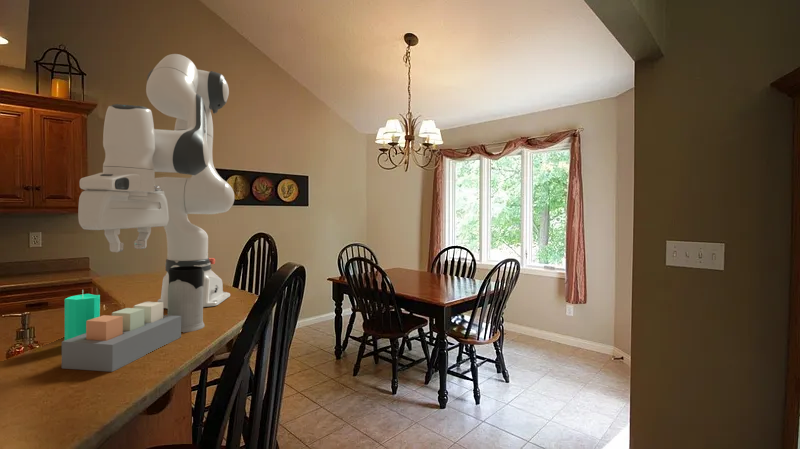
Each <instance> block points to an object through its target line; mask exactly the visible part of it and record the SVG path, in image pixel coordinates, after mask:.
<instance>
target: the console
mask: <svg viewBox="0 0 800 449" xmlns="http://www.w3.org/2000/svg"><path fill="white" fill-rule="evenodd" d="M181 337H182V333H181V316H172V315H168V314H167V315H166V314H163V318H162V319H160V320H157V321H155V322H152V323H144V326H142V327H140V328H137V329H135V330H132V331H123V334H122V335H120V336H117V337H115V338H112V339H110V340H107V341H100V340H86V333H85V334H82V335H79V336H76V337H73V338H70V339H68V340H65V339H64V340H63V341H61V369H67V370H68V369H69V370H81V371H82V370H83V371H96V372H97V371H98V372H112V373H113V372H114V371H115V372H116V371H117V370H119V369H121V368H124V367H125V366H126V365H129V364H131V363H133V362H134V361H136V360H139V359H140V358H142V357H145V356H146V354H147V355H149V354H150V352H151V353H152V351H153V352H154V350H155V351H157V350H158V348H159V349H161V348H162V346H163V347H164V345H165V346H166V344H167V345H169V344H171V343H172V342H174V341H177V340H178V339H180V338H181ZM160 347H161V348H160ZM156 349H157V350H156ZM148 353H149V354H148Z"/></svg>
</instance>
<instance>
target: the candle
mask: <svg viewBox="0 0 800 449" xmlns="http://www.w3.org/2000/svg"><path fill="white" fill-rule="evenodd" d="M81 291H82V292H81V293H82V294H77V295H72V296H68V297H67V298H64V341H65V340H68V339H70V338H73V337H76V336H79V335H82V334H85V333H86V321H87V320H90V319H93V318H97V317H100V316H101V310H100V309H101V295H100V294H91V293H84V289H82V290H81Z"/></svg>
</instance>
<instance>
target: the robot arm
mask: <svg viewBox="0 0 800 449" xmlns="http://www.w3.org/2000/svg"><path fill="white" fill-rule="evenodd" d="M146 78H147V79H146V86H145V87H146V89H145V93H146V97H147V98H148V101H149V103H151V105H152V106H153V107H154V108H155V109H156V110H158V111H159V112H161V113H162V114H163V115H165V116H167V117H171V118H176V119H175V124H174V128H173V129H174V130H173V129H172V130H171V129H158V128H155V124H154V117H153V112H152V110H151V109H150V108H148V107H146V106H143V105H142V106H141V105H132V104H131V105H129V104H119V103H114V104H112V105H108V107H107V109H106V112H105V117H104V124H103V137H102V146H103V149H104V153H105V156H104V157H105V158H104V161H103V163H102V172H98V173H95V174H92V175H89V176H85V177H84V176H83V177H82V178H80V179H79V188H80V189H81V190H83V191H82V192H81V193H80V195H79V199H78V210H77V211H78V213H77V214H78V215H77V216H78V224H79V226H80V227H81V228H82V229H83V230H89V231H100V230H101V231H104V236H105V238H106V240H107V242H108V243H109V252H112V253H119V252H124V245H125V243H124V242H121V240H120V238H119V235H121V230H122V229H123V230H124V229H137V232H138V235H137V239H136V240H134V241H133V244H134V245H133V247H134V249H137V250H141V249H142V250H143V249H144V250H145V249H147V245H148V244H147V243H148V240H149V237H150V235H151V233H152V228H161V227H163V229H164V231H165V234H166V246H167V247H166V248H167V250H166V251H167V258H166V259H165V263H164V265H165V272H166V273H165V274H164V276H163V278H162V283H161V285H162V286H161V292H160V298H159V299H157V302H163V309H167V310H168V285H169V269H170V268H173V267H181V266H198V267H203V270H204V287H203V308H206V307H207V308H208V307H216V306H218V305H220V304H221V303H222V302H224V301H225V300H227V299H228V298H230V297H231V293H230V292H227V291H224V290H223V289H224V287H223V286H224V284H223V279H222V278H221V277H219V275H217V274H216V273H215V272H214V271H213V270H212V265H215V263H216V259H215V258H214V257H209V235H208V233H207V232H206V230H204V229H203V228H201V227H200V226H198V225H196V224H194V223H191V221H190V220H189V218H188V217H189V216H188V215H217V214H223V213H227V212H228V211H230V209H231V208H232V207H233V205H234V202H235V192H234V189H233V187H232V186H231V184H229V183H228V182H227V181H226V180H225V179H223V178H222V176H220V174H219V173H218V171H217V170H216V168H215V166H214V161H213V160H214V158H213V145H214V124H213V123H214V122H213V117H212V114H214V115H215V114H217V113H218V111H219V110H220V109H222V108H223V107H224V106H225V105H226V104H227V102H228V98H229V95H230V89H229V84H228V81H227V79H226V77H225V76H224V75H223V74H222V73H219V72H216V71H213V70H211V71H207V70H203V69H198V68H197V66H196V65H195V63H194V62H193V61H192V60H191V59H190V58H189V57H186V56H185V55H182V54H180V53H179V54H178V53H172V54H168V55H165V56H164V57H163V58H162V59H161V60H160V61H159V62H158V63H157V64H156V65H155V66H154V68H152V69H151V70H150V71H149V72H148V74H147V77H146ZM211 111H212V112H211ZM156 173H178V174H181V175H182V174H184V175H190V176H191V177H178V176H177V177H176V176H175V177H173V176H162V177H156V176H155V174H156Z"/></svg>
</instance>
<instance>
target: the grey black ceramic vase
mask: <svg viewBox="0 0 800 449" xmlns="http://www.w3.org/2000/svg"><path fill="white" fill-rule="evenodd" d="M203 287H204V270H203V267H198V266H181V267H173V268H170V269H169V285H168V309H167V315H172V316H181V332H183V333H190V332H195V331H198V330H201V329H203V328H205V322H204V307H203Z"/></svg>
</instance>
